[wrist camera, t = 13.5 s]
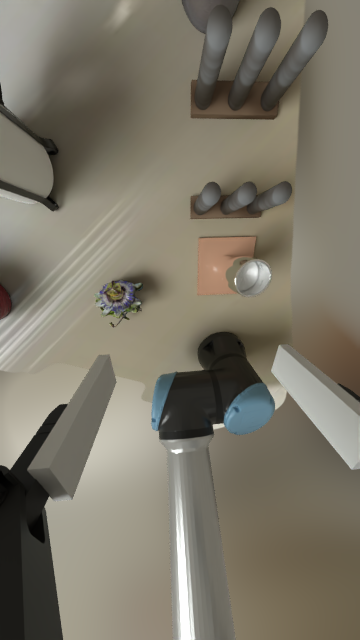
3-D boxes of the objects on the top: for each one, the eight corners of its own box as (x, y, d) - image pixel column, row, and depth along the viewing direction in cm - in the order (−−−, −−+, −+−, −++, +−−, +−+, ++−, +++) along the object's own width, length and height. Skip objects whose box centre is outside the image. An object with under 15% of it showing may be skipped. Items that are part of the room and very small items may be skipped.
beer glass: (224, 247, 39) (254, 248, 25) (243, 264, 41) (281, 274, 27) (206, 271, 41) (225, 284, 27) (225, 286, 43) (252, 305, 30)
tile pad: (246, 292, 45) (247, 293, 44) (197, 294, 44) (197, 295, 44) (255, 236, 39) (256, 236, 38) (198, 238, 38) (199, 238, 38)
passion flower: (127, 279, 46) (141, 271, 36) (140, 314, 49) (157, 315, 39) (85, 290, 41) (89, 283, 31) (102, 328, 43) (111, 334, 33)
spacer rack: (258, 217, 37) (291, 207, 27) (190, 218, 36) (199, 208, 26) (278, 87, 29) (337, 3, 19) (190, 85, 28) (203, -4, 18)
